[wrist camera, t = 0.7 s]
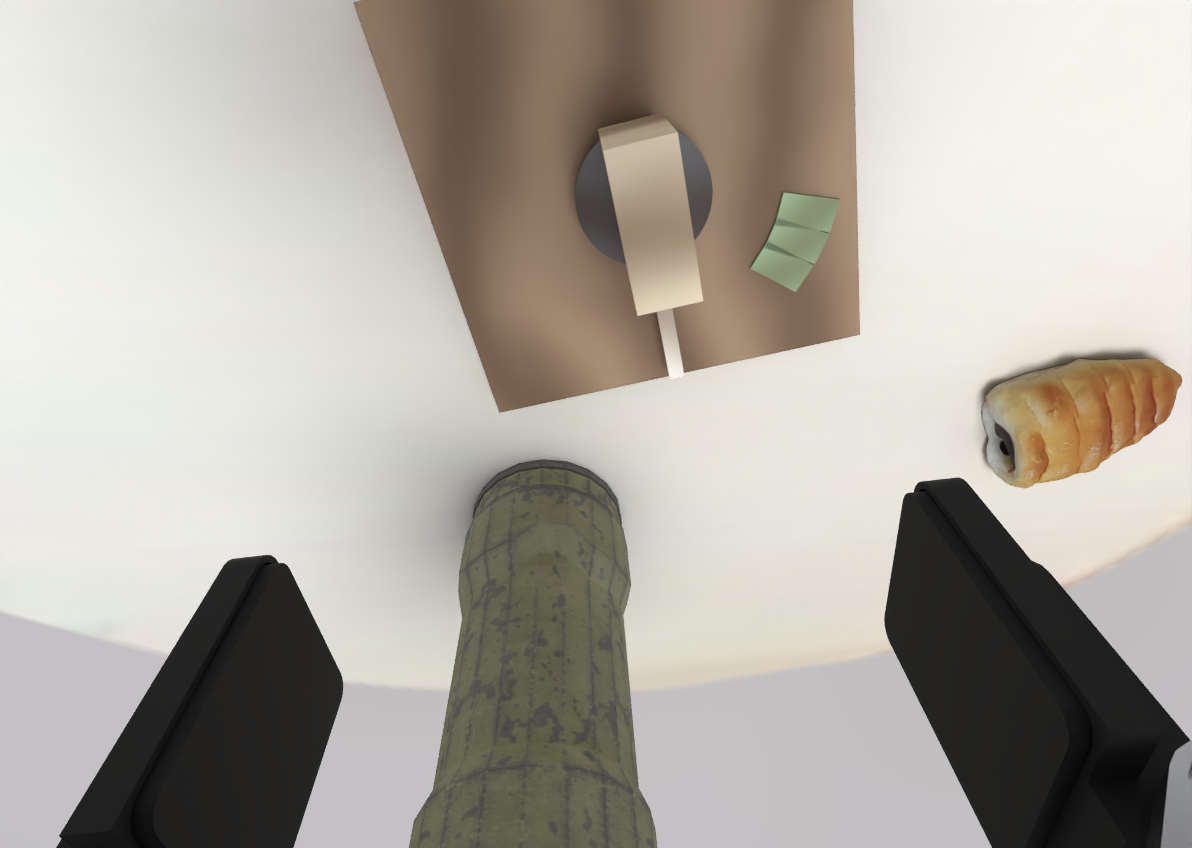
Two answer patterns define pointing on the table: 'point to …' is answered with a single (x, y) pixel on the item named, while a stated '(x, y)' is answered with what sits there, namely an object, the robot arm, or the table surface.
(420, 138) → the wooden board
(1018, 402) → the pastry
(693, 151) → the knob
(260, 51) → the table surface
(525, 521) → the thermos
